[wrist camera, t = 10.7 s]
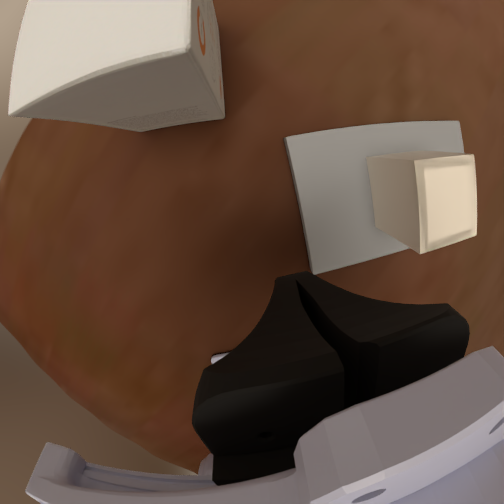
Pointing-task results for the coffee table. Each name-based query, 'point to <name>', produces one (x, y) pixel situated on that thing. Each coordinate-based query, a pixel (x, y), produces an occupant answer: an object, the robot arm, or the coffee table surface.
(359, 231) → the base board
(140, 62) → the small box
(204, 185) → the coffee table surface
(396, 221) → the beige cardboard cube
